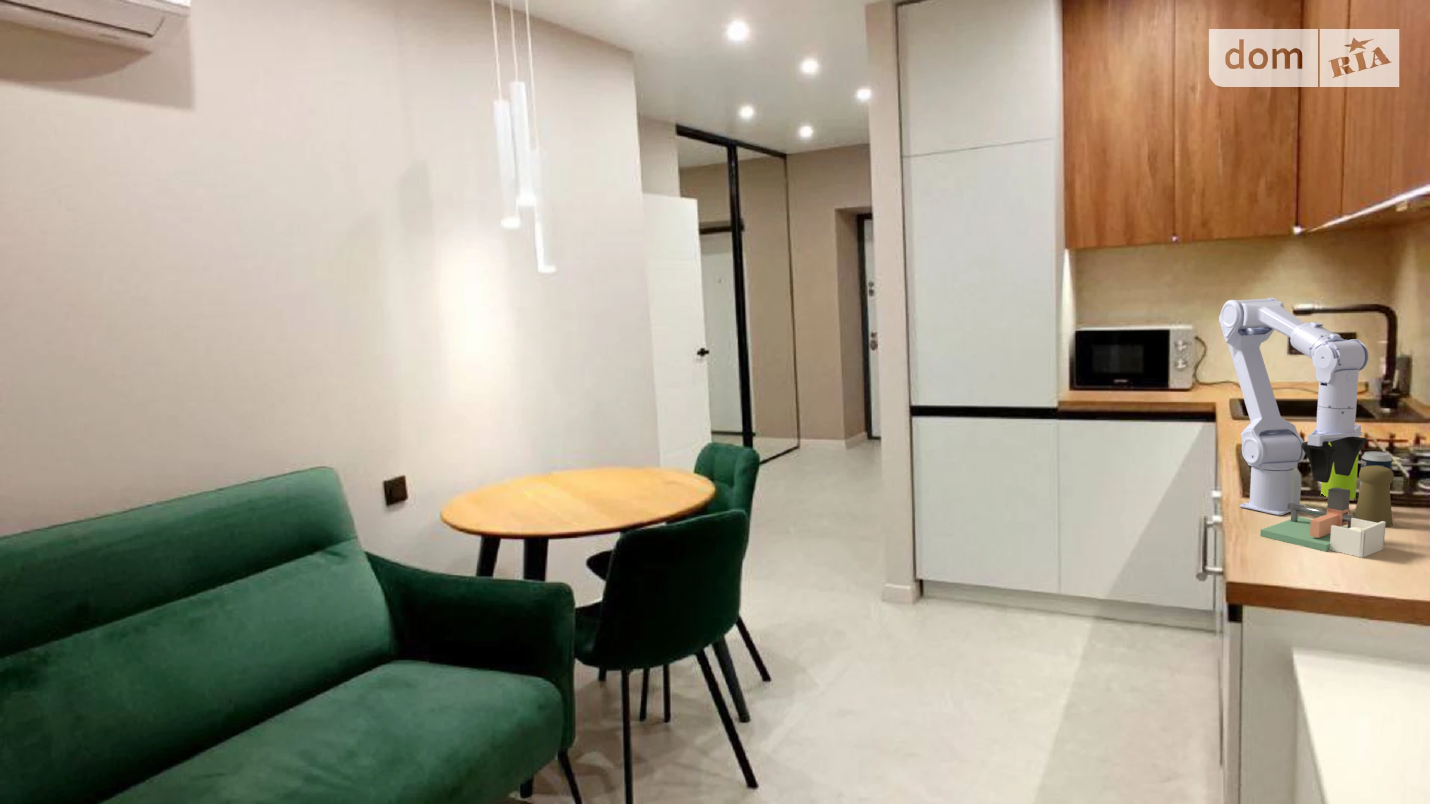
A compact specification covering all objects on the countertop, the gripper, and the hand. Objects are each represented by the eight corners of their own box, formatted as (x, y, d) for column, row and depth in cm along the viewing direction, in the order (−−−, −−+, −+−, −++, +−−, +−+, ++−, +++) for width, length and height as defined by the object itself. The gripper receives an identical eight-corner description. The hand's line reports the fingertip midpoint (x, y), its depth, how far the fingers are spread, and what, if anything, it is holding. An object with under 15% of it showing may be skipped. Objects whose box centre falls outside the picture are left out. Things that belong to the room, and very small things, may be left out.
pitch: (1297, 522, 162) (1298, 516, 162) (1363, 536, 153) (1363, 530, 153) (1260, 535, 156) (1260, 529, 156) (1326, 551, 147) (1326, 545, 146)
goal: (1351, 541, 151) (1352, 515, 150) (1383, 549, 146) (1385, 521, 146) (1329, 550, 147) (1331, 522, 146) (1362, 557, 143) (1364, 529, 142)
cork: (1375, 516, 163) (1379, 462, 162) (1401, 526, 157) (1405, 469, 156) (1345, 518, 163) (1348, 464, 161) (1370, 528, 157) (1374, 471, 155)
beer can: (1359, 507, 170) (1363, 449, 168) (1389, 511, 166) (1394, 452, 164) (1355, 512, 166) (1359, 454, 164) (1386, 517, 163) (1390, 457, 161)
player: (1333, 525, 155) (1335, 487, 154) (1347, 528, 153) (1350, 489, 152) (1306, 535, 151) (1309, 495, 149) (1321, 538, 149) (1324, 498, 147)
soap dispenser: (1314, 492, 181) (1320, 402, 178) (1354, 496, 177) (1361, 403, 174) (1314, 499, 176) (1320, 406, 173) (1355, 503, 172) (1362, 408, 169)
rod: (1290, 519, 161) (1291, 502, 160) (1355, 533, 151) (1356, 515, 151) (1286, 520, 160) (1287, 503, 160) (1352, 535, 151) (1353, 516, 150)
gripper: (1341, 414, 146) (1335, 489, 148) (1381, 403, 153) (1376, 475, 155) (1297, 409, 152) (1292, 481, 154) (1338, 399, 159) (1333, 468, 161)
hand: (1331, 478), depth 155 cm, fingers open, 7 cm apart
